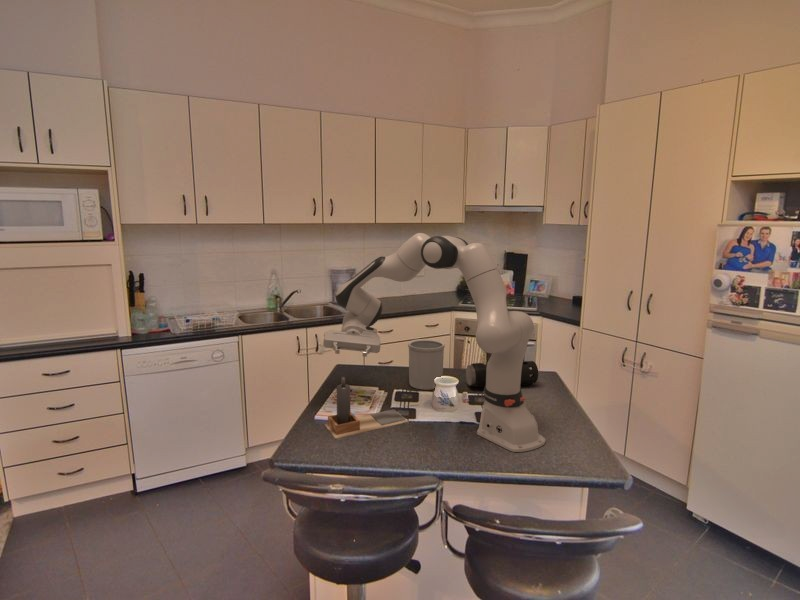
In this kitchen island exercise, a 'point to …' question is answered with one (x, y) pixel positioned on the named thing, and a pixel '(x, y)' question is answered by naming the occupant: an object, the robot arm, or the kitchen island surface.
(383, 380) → the kitchen island surface
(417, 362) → the utensil holder
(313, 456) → the kitchen island surface
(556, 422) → the kitchen island surface
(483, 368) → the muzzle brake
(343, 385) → the plug
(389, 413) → the cable board
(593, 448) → the kitchen island surface
